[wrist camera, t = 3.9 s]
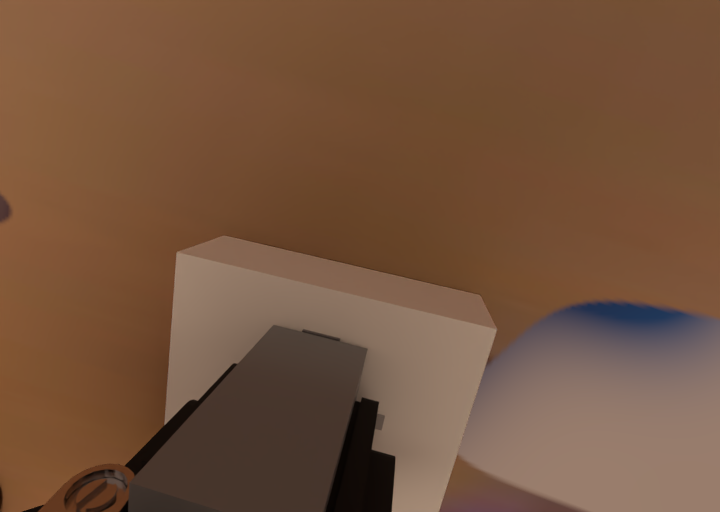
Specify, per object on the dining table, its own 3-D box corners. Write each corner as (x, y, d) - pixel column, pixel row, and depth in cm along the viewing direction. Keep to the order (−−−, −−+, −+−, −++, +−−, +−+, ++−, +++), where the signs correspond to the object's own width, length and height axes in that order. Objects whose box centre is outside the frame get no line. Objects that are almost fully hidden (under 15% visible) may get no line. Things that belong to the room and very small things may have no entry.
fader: (369, 349, 11) (316, 548, 5) (339, 480, 12) (270, 757, 7) (271, 324, 12) (121, 486, 6) (252, 455, 13) (113, 698, 7)
